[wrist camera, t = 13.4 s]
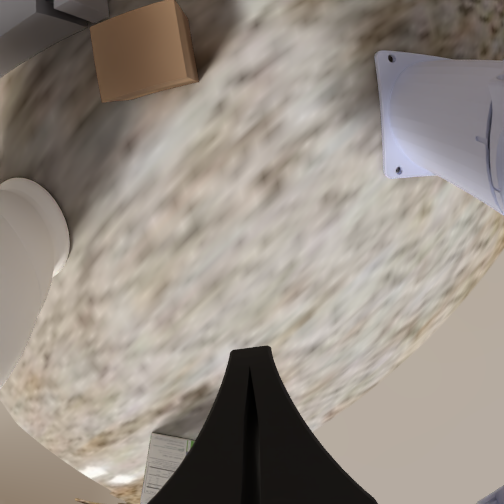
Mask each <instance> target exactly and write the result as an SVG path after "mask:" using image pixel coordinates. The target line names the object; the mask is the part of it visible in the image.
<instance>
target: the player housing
mask: <svg viewBox="0 0 504 504" xmlns="http://www.w3.org/2000/svg"><path fill="white" fill-rule="evenodd" d="M85 28H87V20H84V19H82V18H79V17H76V16H74V15H71V14H68V13H65V12H62V11H59V10H56V9H54V4H53V3H50V2H47V1H45V0H0V78H1V77H2V76H4V75H5V74H7V73H8V72H9V71H11V70H12V69H14V68H15V67H17V66H18V65H20V64H21V63H23V62H25V61H26V60H28V59H29V58H31V57H33V56H34V55H36V54H38V53H39V52H41V51H43V50H44V49H46V48H48V47H50V46H52V45H53V44H55V43H57V42H59V41H61V40H63V39H65V38H67V37H69V36H71V35H73V34H75V33H77V32H79V31H81V30H83V29H85Z"/></svg>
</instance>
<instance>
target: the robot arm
mask: <svg viewBox="0 0 504 504" xmlns="http://www.w3.org/2000/svg"><path fill="white" fill-rule="evenodd" d="M389 55H390V56H391V57H392V59H393V61H392V62H390V61H389V59H388V56H389ZM375 65H376V73H377V81H378V90H379V101H380V112H381V126H382V146H383V172H384V174H385V176H387V177H388V178H390V179H395V178H406V177H418V176H432V175H437V176H439V177H441V178H443V179H445V180H447V181H448V182H450V183H452V184H454V185H455V186H457V187H459V188H461V189H462V190H464V191H466V192H467V193H469V194H471V195H472V196H474V197H476V198H477V199H479V200H480V201H482V202H484V203H485V204H487V205H488V206H490V207H491V208H493V209H494V210H496V211H497V212H499V213H500V214H502V215H503V216H504V59H503V61H499V60H453V59H448V58H443V57H437V56H430V55H424V54H416V53H408V52H399V51H387V50H381V51H377V52H376V53H375ZM397 167H400V171H399V172H398V173H396V169H397ZM147 504H378V503H377V502H376V500H375V499H374V498H373V497H372V496H371V495H370V494H369V493H367V492H366V491H365V490H364V489H363V488H362V487H361V486H359V485H358V484H357V483H356V482H355V481H354V480H353V479H352V478H351V477H350V476H349V475H348V474H347V473H346V472H345V471H344V470H343V469H342V468H341V467H340V466H339V464H338V463H337V462H336V461H335V460H334V459H333V458H332V456H331V455H330V454H329V453H328V452H327V451H326V450H325V449H324V447H323V446H322V445H321V443H320V442H319V441H318V439H317V438H316V437H315V436H314V434H313V433H312V431H311V430H310V429H309V427H308V426H307V424H306V423H305V421H304V420H303V418H302V417H301V415H300V413H299V412H298V410H297V408H296V407H295V405H294V403H293V402H292V400H291V398H290V396H289V394H288V392H287V390H286V388H285V386H284V384H283V382H282V380H281V378H280V376H279V373H278V371H277V368H276V366H275V363H274V360H273V356H272V351H271V347H269V346H260V347H253V348H245V349H237V350H232V351H231V352H230V357H229V361H228V365H227V368H226V372H225V375H224V378H223V381H222V384H221V386H220V389H219V392H218V394H217V397H216V399H215V402H214V404H213V407H212V409H211V411H210V413H209V415H208V417H207V420H206V422H205V424H204V426H203V428H202V430H201V431H200V433H199V435H198V437H197V439H196V440H195V442H194V444H193V446H192V447H191V449H190V450H189V452H188V453H187V455H186V456H185V458H184V459H183V461H182V462H181V464H180V465H179V467H178V468H177V469H176V471H175V472H174V473H173V475H172V476H171V477H170V478H169V480H168V481H167V482H166V483H165V484H164V486H163V487H162V488H161V489H160V490H159V492H158V493H157V494H156V495H155V496H154V497H153V498H152V499H151V500H150V501H149V502H148V503H147ZM476 504H504V485H503V486H502V487H500V488H499V489H497V490H496V491H494V492H493V493H491V494H489V495H488V496H486V497H485V498H483V499H481V500H480V501H478V502H477V503H476Z"/></svg>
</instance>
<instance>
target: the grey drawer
mask: <svg viewBox="0 0 504 504" xmlns="http://www.w3.org/2000/svg"><path fill="white" fill-rule="evenodd" d="M45 1H47V2H50V3H53V4H54V9H56V10H59V11H62V12H65V13H68V14H71V15H74V16H76V17H79V18H82V19H84V20H87V21H90V22H92V23H96V22H99V21H101V20H103V19H106V18H108V17H109V10H108V1H107V0H45Z"/></svg>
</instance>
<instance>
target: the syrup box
mask: <svg viewBox="0 0 504 504" xmlns="http://www.w3.org/2000/svg"><path fill="white" fill-rule="evenodd" d="M194 442H195V441H194V440H190V439H184V438H178V437H172V436H167V435H161V434H156V433H152V434H151V440H150V445H149V451H148V456H147V462H146V469H145V475H144V482H143V489H142V495H141V502H140V504H147V503H148V502H149V501H150V500H151V499H152V498H153V497H154V496H155V495H156V494H157V493H158V492H159V490H160V489H161V488H162V487H163V486H164V484H165V483H166V482H167V481H168V480H169V478H170V477H171V476H172V475H173V473H174V472H175V471H176V469H177V468H178V467H179V465H180V464H181V462H182V461H183V459H184V458H185V456H186V455H187V453H188V452H189V450H190V449H191V447H192V446H193V444H194Z"/></svg>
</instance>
